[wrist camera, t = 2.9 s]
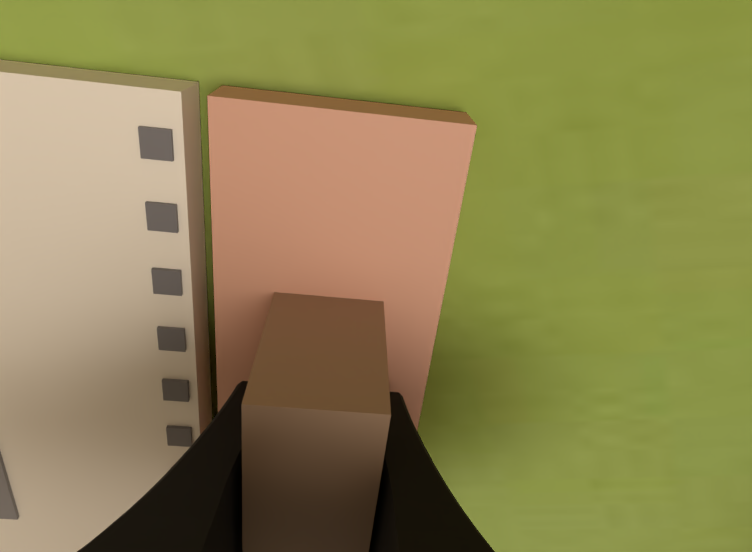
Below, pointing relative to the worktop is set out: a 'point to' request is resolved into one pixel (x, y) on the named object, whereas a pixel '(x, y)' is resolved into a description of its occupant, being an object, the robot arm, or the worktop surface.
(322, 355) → the pink block with handle
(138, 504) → the robot arm
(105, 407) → the cream notepad
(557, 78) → the worktop surface
